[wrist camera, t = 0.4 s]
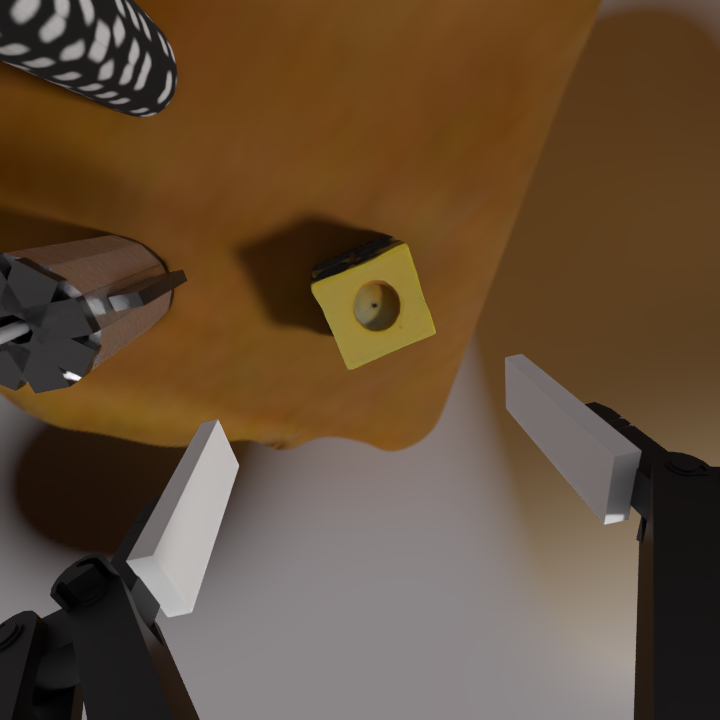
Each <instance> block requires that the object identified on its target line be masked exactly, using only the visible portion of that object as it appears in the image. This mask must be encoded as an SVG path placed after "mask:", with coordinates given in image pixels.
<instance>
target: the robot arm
mask: <svg viewBox="0 0 720 720" xmlns="http://www.w3.org/2000/svg"><path fill="white" fill-rule="evenodd" d="M505 371H506V372H505V374H506V409H507V410H508V411H509V412H510V414H511V415H512V416H513V417H514V418H515V419H516V421H517V422H518V423H519V424H520V425H521V427H522V428H523V429H524V430H525V431H526V433H527V434H528V435H529V436H530V437H531V438H532V439H533V441H534V442H535V443H536V444H537V446H538V447H539V448H540V449H541V450H542V451H543V453H544V454H545V455H546V456H547V457H548V459H549V460H550V461H551V462H552V463H553V465H555V467H556V468H557V469H558V470H559V472H560V473H561V474H562V475H563V476H564V478H565V479H566V480H567V481H568V482H569V483H570V485H571V486H572V487H573V488H574V489H575V491H576V492H577V493H578V494H579V495H580V496H581V498H582V499H583V500H584V501H585V502H586V504H587V505H588V506H589V507H590V508H591V510H592V511H593V512H594V513H595V514H596V515H597V517H598V518H599V519H600V520H601V521H602V523H603V524H604V525H605V524H609V523H614V522H618V521H623V520H628V518H629V514H630V508H631V506H632V507H633V508H634V509H635V510H636V511H637V512H638V513H639V514H640V515H641V520H640V525H639V530H638V534H637V540H638V541H639V567H638V570H639V571H638V599H637V601H638V602H637V632H636V665H635V698H634V720H720V467H710V466H709V465H708V464H707V463H705V462H704V461H702V460H700V459H698V458H696V457H694V456H691V455H687V454H684V453H677V452H668V451H667V450H665V449H664V448H663V447H661V446H660V445H659V444H657V443H656V442H655V441H653V440H652V439H651V438H649V437H648V436H647V435H645V434H644V433H643V432H641V431H640V430H639V429H637V428H636V427H635V426H632V424H631V423H629V422H628V421H627V420H625V419H623V418H622V417H621V416H620V415H619V414H617V413H616V412H615V411H613V410H612V409H610V408H608V407H606V406H603V405H601V404H599V403H596V402H593V403H589V404H583V403H582V402H581V401H579V400H578V399H577V398H576V397H575V396H573V395H572V394H571V393H570V392H568V391H567V390H566V389H565V388H563V387H562V386H561V385H560V384H558V383H557V382H556V381H555V380H553V379H552V378H551V377H550V376H549V375H547V374H546V373H545V372H543V370H541V369H540V368H539V367H538V366H536V365H535V364H534V363H532V362H531V361H530V360H529V359H528V358H526V357H525V356H524V355H523V354H519V355H515V356H510V357H506V358H505ZM238 467H239V465H238V463H237V460H236V458H235V456H234V454H233V451H232V449H231V447H230V445H229V443H228V440H227V438H226V436H225V434H224V431H223V429H222V427H221V425H220V422H219V420H218V419H217V420H213V421H208V422H203V423H201V425H200V426H199V428H198V430H197V432H196V434H195V436H194V437H193V439H192V441H191V443H190V445H189V447H188V448H187V450H186V452H185V454H184V456H183V458H182V459H181V461H180V463H179V465H178V467H177V469H176V471H175V472H174V474H173V476H172V478H171V480H170V481H169V483H168V485H167V487H166V489H165V491H164V493H163V494H162V496H159V497H154V498H152V499H151V501H149V502H148V504H146V506H145V507H144V508H143V509H142V510H141V511H140V513H139V515H138V516H137V518H136V520H135V522H134V525H132V526H131V528H130V530H129V532H128V536H126V537H125V538H124V540H123V542H122V544H121V545H120V547H119V549H118V550H117V552H116V554H115V556H114V557H113V559H112V561H111V562H109V561H108V560H107V559H106V557H105V556H104V555H103V554H92V555H88V556H85V557H84V558H82V559H80V560H78V561H76V562H75V563H73V564H72V565H71V566H70V567H68V568H67V569H66V570H65V571H64V572H63V573H62V574H61V575H60V576H59V577H58V578H57V580H56V581H55V583H54V585H53V587H52V589H51V594H50V596H51V597H52V598H53V599H54V600H55V601H56V602H57V603H58V604H59V605H60V606H61V607H62V609H60V610H58V611H56V612H54V613H52V614H50V615H48V616H46V617H44V618H42V619H41V618H40V617H39V616H38V615H37V614H36V613H35V612H33V611H23V612H21V613H19V614H16V615H14V616H12V617H11V618H9V619H8V620H6V621H5V622H3V623H2V624H0V720H82V710H83V702H84V704H85V709H86V715H87V720H200V719H199V717H198V715H197V712H196V710H195V708H194V706H193V703H192V701H191V699H190V696H189V694H188V692H187V690H186V687H185V685H184V683H183V680H182V678H181V676H180V673H179V671H178V669H177V666H176V664H175V662H174V660H173V657H172V655H171V653H170V650H169V648H168V646H167V644H166V641H165V639H164V637H163V635H162V632H161V630H160V628H159V626H158V624H157V623H156V622H155V618H156V615H157V613H158V610H159V608H160V607H161V609H162V610H163V611H164V613H165V614H166V616H167V617H173V616H178V615H182V614H187V613H192V611H193V607H194V605H195V601H196V598H197V595H198V592H199V589H200V586H201V582H202V580H203V576H204V573H205V570H206V567H207V564H208V561H209V557H210V555H211V551H212V548H213V545H214V542H215V539H216V536H217V533H218V530H219V526H220V523H221V520H222V517H223V514H224V511H225V508H226V504H227V502H228V498H229V495H230V492H231V489H232V485H233V483H234V480H235V477H236V473H237V470H238Z"/></svg>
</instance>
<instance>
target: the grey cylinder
mask: <svg viewBox="0 0 720 720" xmlns="http://www.w3.org/2000/svg"><path fill="white" fill-rule="evenodd" d="M186 281H187V279H186V276H185V274H184V271H183V270H178V271H173V272H169V271H168V269H167V267H166V265H165V264H164V262H163V261H162V260H161V259H160V257H159V256H158V255H157V254H156V253H155V252H153V251H152V250H151V249H150V248H148V247H147V246H145V245H144V244H142V243H140V242H138V241H136V240H133V239H131V238H127V237H122V236H114V235H108V236H102V237H96V238H90V239H84V240H78V241H72V242H66V243H60V244H54V245H48V246H42V247H36V248H30V249H24V250H18V251H12V252H6V253H0V328H1V327H4V326H6V325H9V324H11V323H14V322H16V321H19V320H21V319H23V320H25V321H26V322H27V323H28V325H29V327H30V328H31V330H32V331H30V332H28V333H25V334H23V335H21V336H19V337H16V338H14V339H12V340H10V341H7V342H5V343H3V344H1V345H0V384H1V385H3V386H6V387H8V388H10V389H13V390H15V391H16V390H18V389H20V388H21V387H23V386H24V385H26V383H28V384H30V386H31V387H32V389H33V390H34V392H35V393H40V392H45V391H50V390H55V389H61V388H66V387H70V386H72V385H73V384H74V383H76V382H77V381H78V380H80V379H81V378H83V377H84V376H86V375H87V374H88V373H90V372H91V371H92V370H93V369H95V368H96V367H97V366H99V365H100V364H102V363H103V362H104V361H106V360H107V359H108V358H110V357H111V356H112V355H114V354H115V353H117V352H118V351H119V350H121V349H122V348H123V347H125V346H126V345H128V344H129V343H130V342H132V341H133V340H134V339H136V338H137V337H138V336H140V335H141V334H143V333H144V332H145V331H147V330H148V329H149V328H151V327H152V326H153V325H154V324H155V323H156V322H158V321H159V320H160V319H161V318H162V317H163V316H164V315H165V314H166V313H167V312H168V310H169V309H170V307H171V304H172V301H173V297H174V288H176V287H177V286H179V285H181V284H182V283H184V282H186ZM63 291H64V292H65V293H66V294H68V295H69V296H70V298H65V299H60V297H61V294H62V292H63ZM59 299H60V300H59ZM85 335H89V339H88V338H86V337H84V336H85Z"/></svg>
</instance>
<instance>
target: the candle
mask: <svg viewBox="0 0 720 720" xmlns="http://www.w3.org/2000/svg"><path fill="white" fill-rule="evenodd" d="M311 280H312V283H311V285H310V286H311V291H312V293H313V295H314V297H315V298H316V300H317V302H318V303H319V305H320V306H321V308H322V309H323V312H324V315H325V317H326V320H327V322H328V324H329V330H330V332H332V333H333V335H334V337H335V340H336V342H337V345H338V348H339V351H340V353H341V355H342V358H343V360H344V362H345V365H346V367H347V369H348V370H352V369H355V368H357V367H359V366H361V365H364V364H366V363H368V362H370V361H373V360H375V359H377V358H379V357H381V356H383V355H386V354H388V353H390V352H393V351H395V350H397V349H400V348H402V347H404V346H407V345H409V344H412V343H414V342H416V341H419V340H422V339H424V338H427V337H429V336H431V335H433V334H435V333H436V330H435V327H434V324H433V321H432V318H431V314H430V312H429V309H428V307H427V305H426V302H425V299H424V296H423V293H422V290H421V287H420V283H419V280H418V276H417V272H416V269H415V266H414V263H413V260H412V257H411V253H410V250H409V247H408V246H407V244H406V243H405V242H403V241H400V240H396V239H394V237H392V236H390V235H388V236H384V237H382V238H379V239H377V240H376V241H371V242H369V243H367V244H366V245H365V246H360V247H359V248H356V249H353V250H351V251H349V252H346V253H343V254H342V255H341V256H339V257H337V258H335V259H331V260H329V261H327V262H325V263H323V264H320V265H315V266H314V267H313V268H312V278H311Z"/></svg>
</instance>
